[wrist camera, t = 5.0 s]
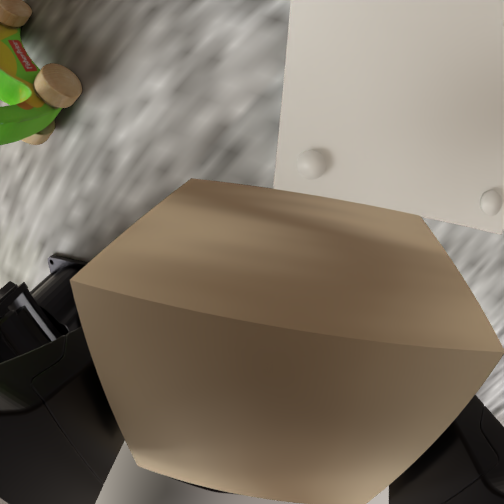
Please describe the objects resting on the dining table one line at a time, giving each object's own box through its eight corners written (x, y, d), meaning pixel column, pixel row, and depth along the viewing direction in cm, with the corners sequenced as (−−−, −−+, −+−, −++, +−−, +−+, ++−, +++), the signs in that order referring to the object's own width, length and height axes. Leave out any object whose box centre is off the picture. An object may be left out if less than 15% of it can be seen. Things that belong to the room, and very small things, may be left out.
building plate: (274, 187, 20) (271, 194, 18) (296, -55, 12) (295, -65, 11) (495, 229, 18) (505, 237, 17) (525, 17, 11) (537, 15, 9)
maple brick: (192, 346, 11) (138, 466, 7) (191, 177, 8) (70, 280, 4) (359, 375, 10) (363, 505, 6) (419, 215, 8) (505, 351, 3)
